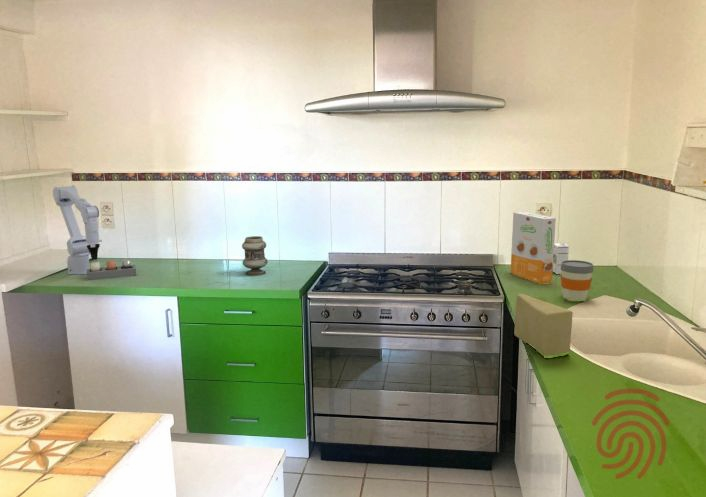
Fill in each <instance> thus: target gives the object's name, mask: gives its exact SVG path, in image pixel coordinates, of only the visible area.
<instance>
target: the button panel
mask: <svg viewBox="0 0 706 497" xmlns="http://www.w3.org/2000/svg"><path fill="white" fill-rule="evenodd" d="M85 275H86V281H91V280H92V281H93V280H103V279H114V278H124V277H135V276H137V267H136V264H131V268H127V269H123V268H122V265H117V266H116V270H107V266H106V267H100V271H95V272H91V268H90V269H87V272H86V274H85Z"/></svg>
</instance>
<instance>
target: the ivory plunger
mask: <svg viewBox="0 0 706 497" xmlns="http://www.w3.org/2000/svg"><path fill="white" fill-rule="evenodd" d="M89 265H90V269H91V272H95V271H100V268H101V264H100V262H98V261H94V262H91V263H90V262H89Z"/></svg>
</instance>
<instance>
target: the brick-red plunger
mask: <svg viewBox="0 0 706 497" xmlns="http://www.w3.org/2000/svg"><path fill="white" fill-rule="evenodd" d="M105 263H106V267H107V270H116V260H108V261H106V262H105Z"/></svg>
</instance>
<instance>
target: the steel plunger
mask: <svg viewBox="0 0 706 497" xmlns="http://www.w3.org/2000/svg"><path fill="white" fill-rule="evenodd" d="M131 261H132V260H131V259H123V260H121V266H122V268H123V269H127V268H131V265H132V262H131Z"/></svg>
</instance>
